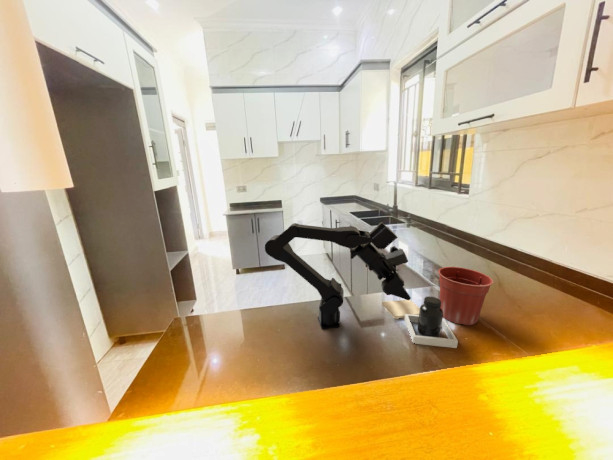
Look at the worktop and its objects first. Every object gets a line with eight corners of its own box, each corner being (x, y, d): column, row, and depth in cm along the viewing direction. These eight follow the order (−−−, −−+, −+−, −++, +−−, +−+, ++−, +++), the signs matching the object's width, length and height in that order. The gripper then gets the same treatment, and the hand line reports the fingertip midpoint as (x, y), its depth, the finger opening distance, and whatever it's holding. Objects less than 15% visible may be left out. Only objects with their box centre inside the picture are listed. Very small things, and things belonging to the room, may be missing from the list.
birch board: (394, 319, 90) (395, 316, 90) (381, 304, 100) (382, 302, 99) (425, 316, 92) (425, 313, 92) (409, 302, 102) (409, 299, 101)
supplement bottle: (442, 341, 79) (448, 306, 76) (419, 338, 80) (423, 304, 77) (436, 327, 85) (441, 295, 82) (415, 325, 87) (418, 293, 84)
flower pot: (476, 308, 97) (483, 269, 94) (492, 333, 82) (501, 288, 78) (429, 301, 102) (434, 264, 98) (437, 324, 87) (443, 281, 83)
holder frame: (412, 343, 78) (413, 336, 77) (404, 319, 90) (404, 313, 89) (456, 348, 76) (458, 341, 75) (442, 323, 88) (443, 317, 87)
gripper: (398, 251, 69) (436, 290, 70) (387, 234, 87) (418, 265, 88) (367, 276, 72) (405, 313, 73) (363, 254, 90) (393, 285, 91)
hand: (406, 292), depth 81 cm, fingers open, 9 cm apart
